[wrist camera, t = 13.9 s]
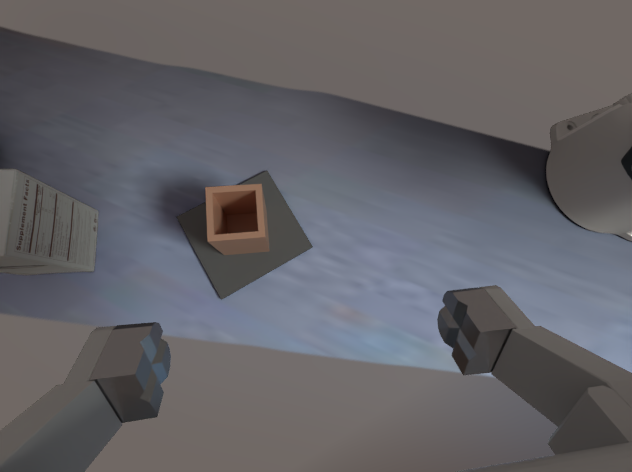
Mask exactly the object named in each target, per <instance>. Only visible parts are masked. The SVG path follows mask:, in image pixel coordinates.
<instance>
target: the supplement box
mask: <svg viewBox="0 0 632 472" xmlns="http://www.w3.org/2000/svg"><path fill="white" fill-rule="evenodd" d="M97 228H98V211H97V210H96V209H93V208H91V207H90V206H88V205H86V204H84V203H82V202H80V201H78V200H76V199H74V198H72V197H70V196H68V195H66V194H64V193H62V192H60V191H58V190H56V189H54V188H52V187H50V186H48V185H46V184H44V183H43V182H41V181H39V180H37V179H35V178H33V177H31V176H29V175H27V174H25V173H23V172H21V171H19V170H17V169H0V273H8V274H18V275H35V274H47V273H66V272H94V268H95V256H96V243H97Z"/></svg>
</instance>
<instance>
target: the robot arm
mask: <svg viewBox="0 0 632 472" xmlns="http://www.w3.org/2000/svg"><path fill="white" fill-rule="evenodd" d="M550 138H551V151H550V154H549V157H548V160H547V166H546V177H547V183H548V186H549V190H550V192H551V195H552V197H553V199H554V200H555V202H556V204H557V205H558V206H559V208H560V209H561V210H562V211H563V213H564V214H565V215H566V216H568V217H569V218H570V219H571V220H572V221H574V222H575V223H577V224H578V225H580V226H582V227H584V228H586V229H588V230H591V231H595V232H600V233H611V234H617V235H619V236H621V237H623V238H625V239H627V240H629V241H632V93H631V94H629V95H627V96H625V97H624V98H622V99H620V100H619V101H618V102H616V103H614V104H613V105H612V106H608V107H605V108H602V109H599V110H596V111H593V112H589V113H586V114H583V115H580V116H577V117H574V118H571V119H567V120H564V121H561V122H559V123H557V124H555V125H553V126H552V127H551V129H550ZM442 301H443V303H444V304H445V307H444V308H442V309H441V310H440V311H439V315H438V319H437V320H438V329H439V332H440V335H441V337H442V339H443V341H444V342H445V343H446V344H447V345H449V346H450V347H452V348H453V352H452V357H453V358H454V360H455V362H456V364H457V365H458V367H459V369H460V371H461V372H462V374H463V375H471V374H481V373H490V372H492V375H493V376H495V377H496V378H497V379H498V380H500V381H501V382H502V383H504V384H505V385H506V386H507V387H509V388H510V389H511V390H512V391H514V392H515V393H516V394H517V395H519V396H520V397H521V398H522V399H524V400H525V401H526V402H527V403H529V404H530V405H531V406H532V407H534V408H535V409H536V410H537V411H539V412H540V413H541V414H542V415H544V416H545V417H546V418H548V419H549V420H550V421H551V422H553V423H554V424H555V425H556V426H558V428H557V429H556V430H555V432H554V433H553V434H552V436H551V437H550V439H549V442H548V445H549V446H550V448H551V449H552V451H553V452H554V454H555V455H551V456H545V457H539V458H533V459H527V460H521V461H516V462H510V463H504V464H498V465H492V466H487V467H480V468H475V469H468V470H463V471H457V472H632V373H631V372H629V371H627V370H625V369H623V368H621V367H619V366H617V365H615V364H613V363H611V362H609V361H607V360H605V359H603V358H601V357H599V356H598V355H596V354H594V353H592V352H590V351H588V350H586V349H584V348H582V347H580V346H578V345H576V344H574V343H572V342H570V341H568V340H566V339H565V338H563V337H561V336H559V335H557V334H555V333H553V332H551V331H549V330H547V329H545V328H543V327H541V326H534V325H533V323H532V322H531V321H530V320H529V319H528V318H527V317H526V316H525V314H524V313H523V312H522V311H521V310H520V309H519V308H518V307H517V305H516V304H515V303H514V302H513V301H512V300H511V299H510V298H509V297H508V295H507V294H506V293H505V292H504V291H503V290H502V289H501V288H500V287H498V286H496V285H495V286H486V287H479V288H469V289H460V290H452V291H447V292H446V293H445V294H444V297H443V300H442ZM162 333H163V330H162V328H161V326H160V324H159V323H157V322H153V323H141V324H129V325H117V326H109V327H98V328H96V329H95V330H94V331H92V332H91V334H90V336H89V338H88V340H87V342H86V343H85V345H84V347H83V349H82V351H81V353H80V354H79V356H78V358H77V360H76V362H75V364H74V366H73V368H72V369H71V371H70V373H69V375H68V377H67V378H66V380H65V382H64V384H62V385H56V386H55V387H54V388H53V389H51V390H50V391H49V392H48V393H46V394H45V395H44V396H43V397H41V398H40V399H39V400H38V401H36V402H35V403H34V404H33V405H32V406H30V407H29V408H28V409H27V410H25V411H24V412H23V413H22V414H20V415H19V416H18V417H17V418H15V419H14V420H13V421H12V422H11V423H9V424H8V425H7V426H5V427H4V428H3V429H2V430H1V431H0V472H85V470H86V469H87V468H88V467H89V465H90V464H91V463H92V462H93V461H94V459H95V458H96V457H97V456H98V454H99V453H100V452H101V451H102V449H103V448H104V447H105V446H106V444H107V443H108V442H109V441H110V440H111V438H112V437H113V436H114V435H115V433H116V432H117V431H118V430H119V428H120V427H121V426H122V423H125V422H131V421H136V420H143V419H148V418H155V417H157V416H158V412H159V408H160V405H161V401H162V397H163V393H164V392H163V390H162V387H161V383H162V382H163V381H164V380H165V379H166V378H167V377H168V373H169V369H170V358H171V355H170V349H169V346H168V343H167V342H166V341H164V340H163V339H161V336H162Z"/></svg>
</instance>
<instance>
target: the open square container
mask: <svg viewBox="0 0 632 472" xmlns="http://www.w3.org/2000/svg"><path fill="white" fill-rule="evenodd" d="M205 190H206V215H207V240H208V243H210V244H211V245H212V246H213V247H215V248H216V249H217V250H218V251H220V252H221V253H222V254H223V255H234V254H246V253H257V252H269V251H270V250H269V237H268V224H267V211H266V204H265V199H264V194H263V189H262V184H250V185H234V186H218V187H205Z"/></svg>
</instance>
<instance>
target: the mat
mask: <svg viewBox="0 0 632 472" xmlns="http://www.w3.org/2000/svg"><path fill="white" fill-rule="evenodd" d="M250 184H262V189H263V194H264V199H265V204H266V211H267V224H268V237H269V250H270V251H269V252H257V253H246V254H234V255H223V254H222V253H221V252H220V251H218V250H217V249H216V248H215V247H213V246H212V245H211V244H210V243H208V240H207V215H206V202H205V203H203V204H201V205H199V206H197V207H195V208H193V209H191V210H189V211H187V212H185V213H183V214H181V215H179V216H177V219H178V221H179V222H180V224H181V226H182V228H183V230H184V232H185V234H186V235H187V237H188V239H189V241H190V243H191V245H192V246H193V248H194V250H195V252H196V254H197V256H198V257H199V259H200V261H201V263H202V265H203V267H204V268H205V270H206V272H207V274H208V276H209V278H210V280H211V281H212V283H213V285H214V287H215V289H216V291H217V292H218V294H219V296H220V298H221V299H223V298H225V297H227V296H229V295H230V294H232V293H234V292H236V291H237V290H239V289H241V288H243V287H244V286H246V285H248V284H249V283H251V282H253V281H255V280H256V279H258V278H260V277H262V276H263V275H265V274H267V273H269V272H270V271H272V270H274V269H276V268H277V267H279V266H281V265H282V264H284V263H286V262H288V261H289V260H291V259H293V258H295V257H296V256H298V255H300V254H302V253H303V252H305V251H307V250H309V249H310V248H312V245H311V243H310V242H309V240H308V238H307V236H306V235H305V233H304V231H303V230H302V228H301V226H300V225H299V223H298V221H297V220H296V218H295V216H294V215H293V213H292V211H291V210H290V208H289V206H288V205H287V203H286V201H285V200H284V198H283V196H282V195H281V193H280V191H279V190H278V188H277V186H276V185H275V183H274V181H273V180H272V178H271V176H270V175H269V173H268V171H265V172H263V173H261V174H259V175H257V176H255V177H253V178H251V179H250V180H248V181H246V182H244V183H242V184H240V185H250Z"/></svg>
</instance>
